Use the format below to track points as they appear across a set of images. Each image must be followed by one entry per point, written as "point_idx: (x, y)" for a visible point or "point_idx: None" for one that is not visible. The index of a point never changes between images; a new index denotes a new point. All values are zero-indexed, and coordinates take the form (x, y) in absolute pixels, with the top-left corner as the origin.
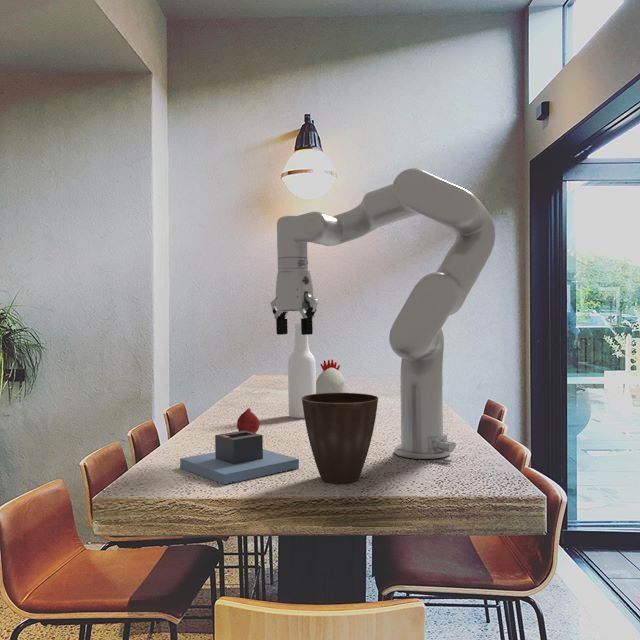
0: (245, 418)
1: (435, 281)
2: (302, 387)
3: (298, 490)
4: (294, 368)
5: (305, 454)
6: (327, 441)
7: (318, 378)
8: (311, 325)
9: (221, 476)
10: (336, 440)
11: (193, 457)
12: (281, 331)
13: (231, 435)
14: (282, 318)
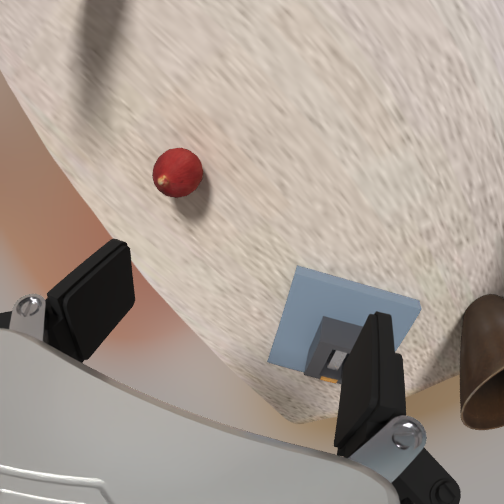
0: (180, 194)
1: None
2: None
3: (452, 362)
4: None
5: (384, 222)
6: (490, 382)
7: None
8: (402, 381)
9: None
10: (501, 381)
11: (277, 354)
12: (124, 293)
13: (323, 365)
14: (66, 335)
